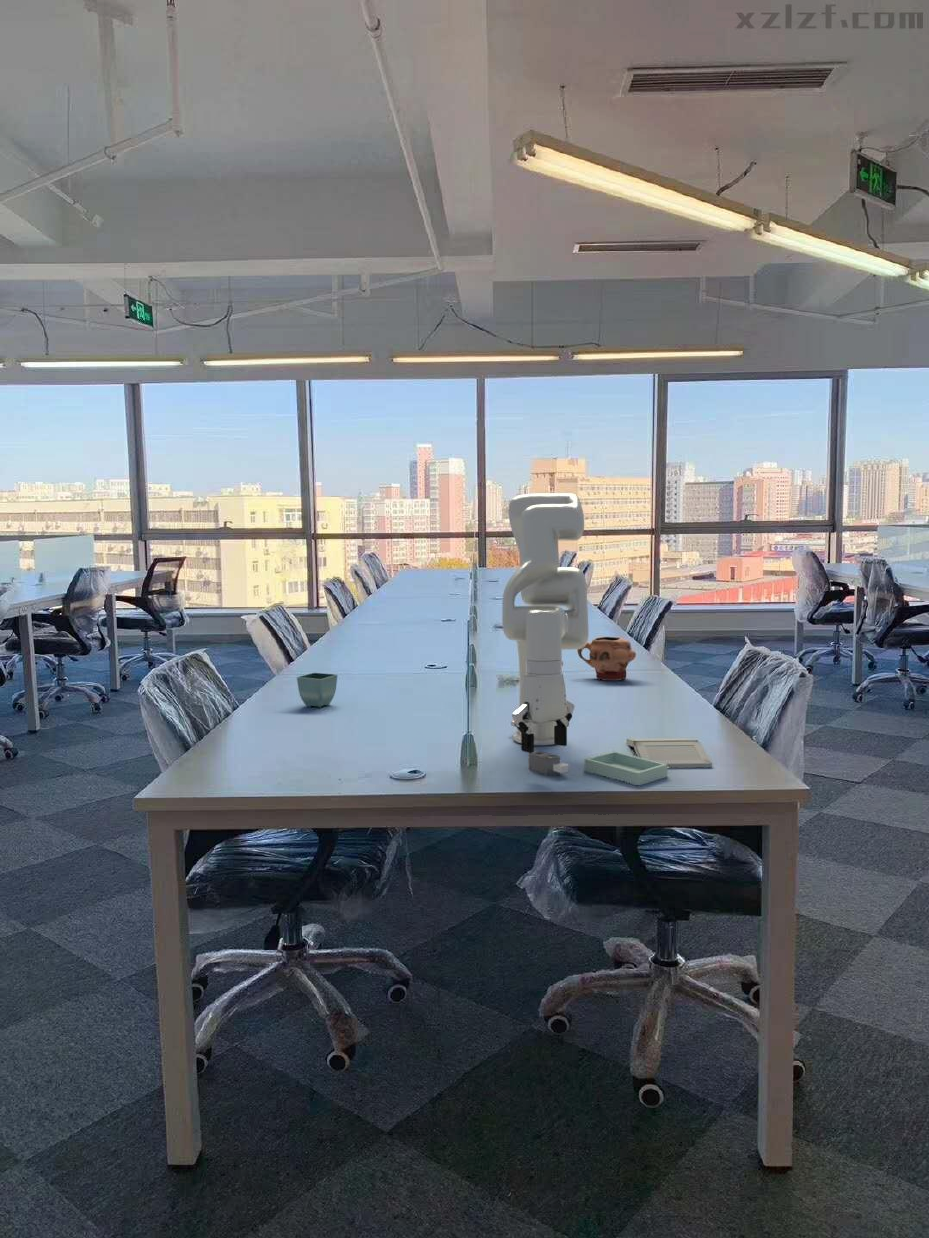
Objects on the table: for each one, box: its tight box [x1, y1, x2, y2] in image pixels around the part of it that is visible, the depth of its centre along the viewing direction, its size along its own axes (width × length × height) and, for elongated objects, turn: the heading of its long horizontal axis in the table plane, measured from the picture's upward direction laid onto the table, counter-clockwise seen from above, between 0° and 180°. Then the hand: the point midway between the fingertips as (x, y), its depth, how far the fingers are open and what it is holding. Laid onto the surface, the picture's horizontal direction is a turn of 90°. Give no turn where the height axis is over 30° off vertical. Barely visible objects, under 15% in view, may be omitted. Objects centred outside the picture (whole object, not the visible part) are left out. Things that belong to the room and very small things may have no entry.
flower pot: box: [296, 672, 338, 708], centre depth 259 cm, size 9×9×9 cm
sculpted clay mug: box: [576, 636, 637, 681], centre depth 295 cm, size 20×12×14 cm, turn 68°
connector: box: [528, 750, 570, 777], centre depth 188 cm, size 10×3×4 cm, turn 40°
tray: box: [584, 751, 668, 786], centre depth 185 cm, size 14×9×3 cm, turn 40°
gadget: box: [626, 737, 713, 769], centre depth 201 cm, size 23×15×4 cm, turn 179°
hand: (544, 748), depth 187 cm, fingers open, 9 cm apart
